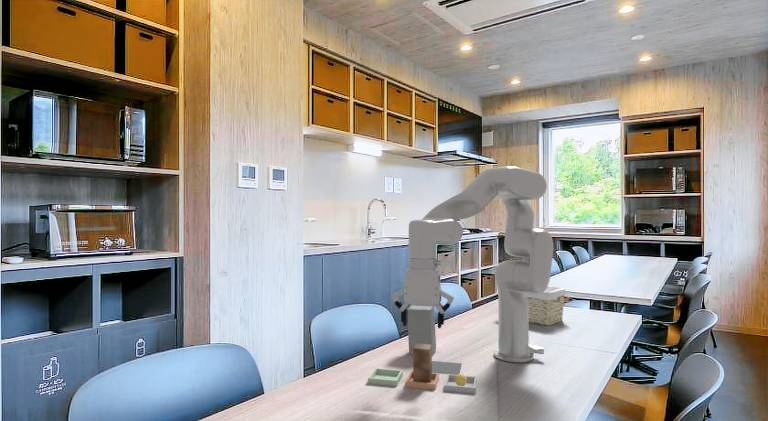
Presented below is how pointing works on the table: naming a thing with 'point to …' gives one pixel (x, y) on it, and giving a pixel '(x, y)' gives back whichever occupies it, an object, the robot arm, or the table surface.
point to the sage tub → (385, 377)
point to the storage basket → (546, 306)
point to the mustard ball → (460, 380)
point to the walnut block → (422, 363)
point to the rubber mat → (446, 367)
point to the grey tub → (467, 388)
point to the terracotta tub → (422, 385)
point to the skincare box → (421, 326)
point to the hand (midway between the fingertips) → (422, 325)
